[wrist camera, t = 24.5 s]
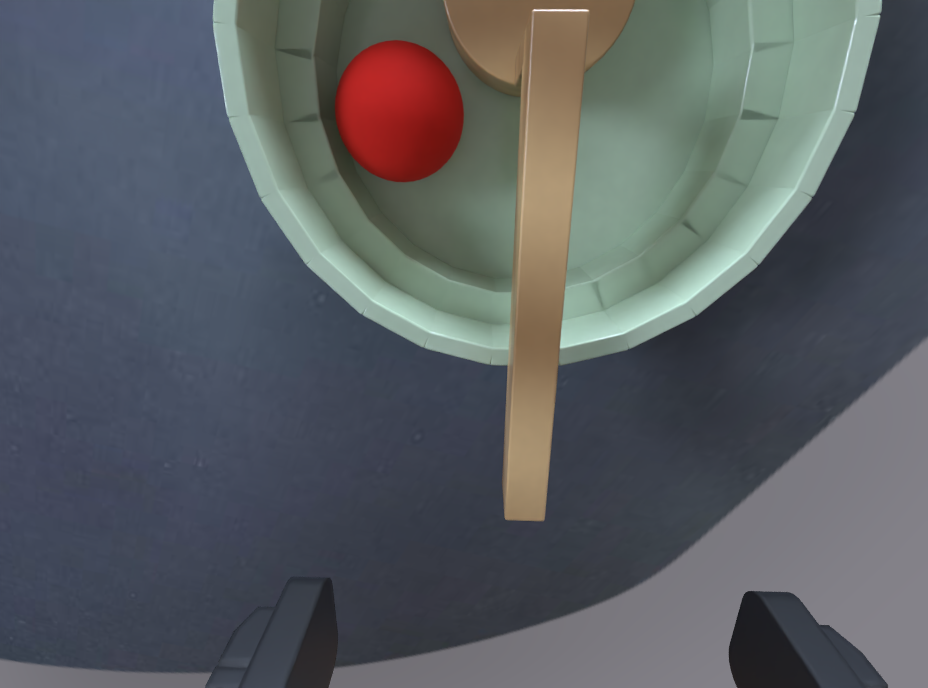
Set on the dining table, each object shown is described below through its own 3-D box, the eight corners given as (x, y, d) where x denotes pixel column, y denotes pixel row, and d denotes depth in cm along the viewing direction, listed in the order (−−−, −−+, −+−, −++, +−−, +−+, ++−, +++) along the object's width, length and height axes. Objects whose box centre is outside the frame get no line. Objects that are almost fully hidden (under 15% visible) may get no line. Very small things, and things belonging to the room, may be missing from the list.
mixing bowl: (847, -110, 15) (1045, -260, 10) (645, 356, 20) (702, 420, 15) (334, -283, 14) (247, -554, 9) (270, 257, 19) (194, 290, 14)
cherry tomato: (414, 207, 14) (482, 70, 13) (292, 136, 14) (348, -11, 12) (436, 203, 18) (490, 97, 16) (341, 147, 17) (388, 35, 16)
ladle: (446, -108, 15) (418, -330, 8) (629, -108, 14) (755, -334, 8) (446, 407, 21) (431, 519, 14) (574, 411, 21) (618, 524, 14)
